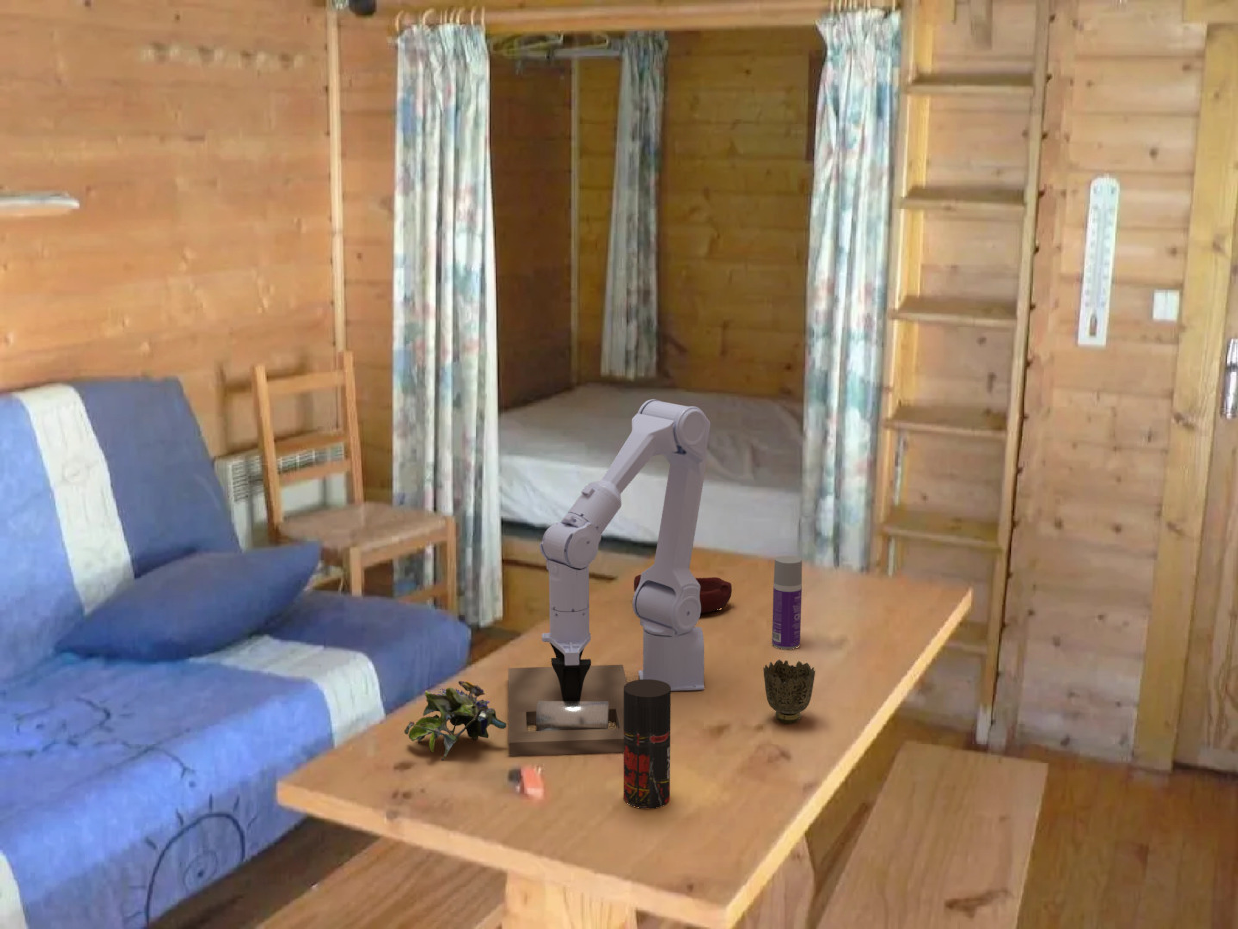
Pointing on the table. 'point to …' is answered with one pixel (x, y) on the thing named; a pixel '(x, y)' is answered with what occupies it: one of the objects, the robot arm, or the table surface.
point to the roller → (572, 715)
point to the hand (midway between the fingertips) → (570, 694)
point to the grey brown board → (545, 686)
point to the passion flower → (454, 716)
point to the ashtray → (708, 592)
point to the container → (787, 602)
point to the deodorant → (647, 743)
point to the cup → (788, 689)
